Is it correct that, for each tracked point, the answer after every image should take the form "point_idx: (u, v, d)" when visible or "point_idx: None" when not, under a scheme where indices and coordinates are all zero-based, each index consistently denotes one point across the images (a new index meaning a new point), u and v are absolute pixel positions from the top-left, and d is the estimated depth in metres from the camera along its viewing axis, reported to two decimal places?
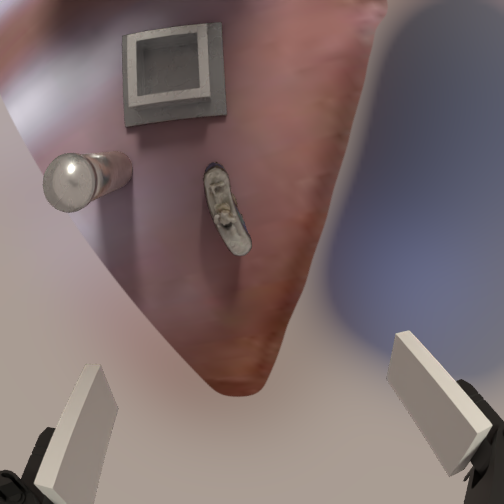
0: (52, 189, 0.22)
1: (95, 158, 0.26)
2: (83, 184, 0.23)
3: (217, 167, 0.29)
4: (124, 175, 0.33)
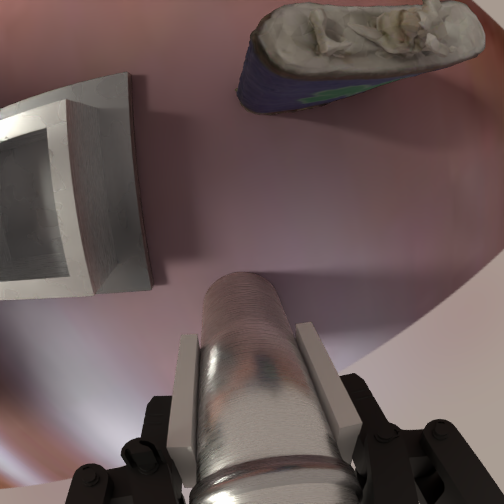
0: None
1: (209, 420, 0.09)
2: None
3: (258, 31, 0.07)
4: (257, 300, 0.15)
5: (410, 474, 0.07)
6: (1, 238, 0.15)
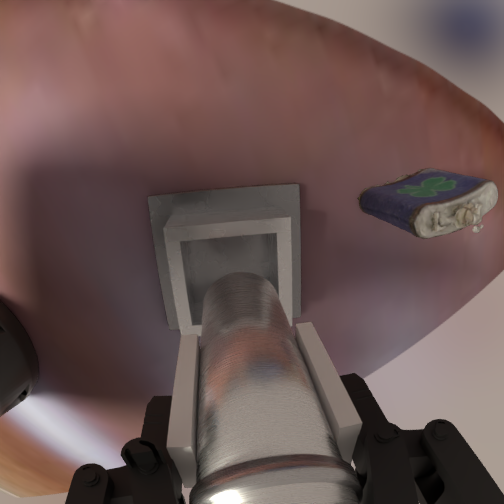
0: None
1: (209, 420, 0.09)
2: None
3: (414, 219, 0.19)
4: (257, 299, 0.15)
5: (410, 474, 0.07)
6: (192, 288, 0.26)
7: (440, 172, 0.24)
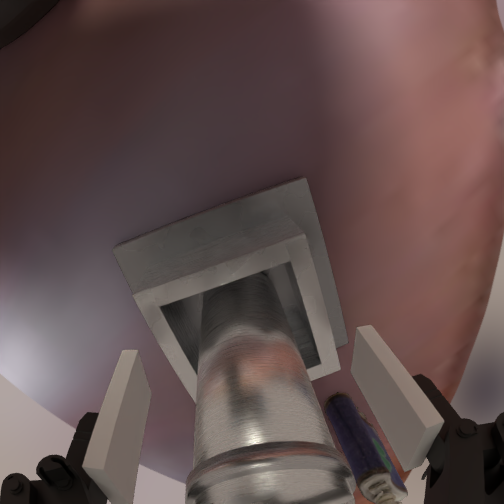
0: None
1: (206, 409, 0.09)
2: (287, 498, 0.06)
3: (376, 473, 0.16)
4: (255, 294, 0.16)
5: (481, 470, 0.06)
6: None
7: None
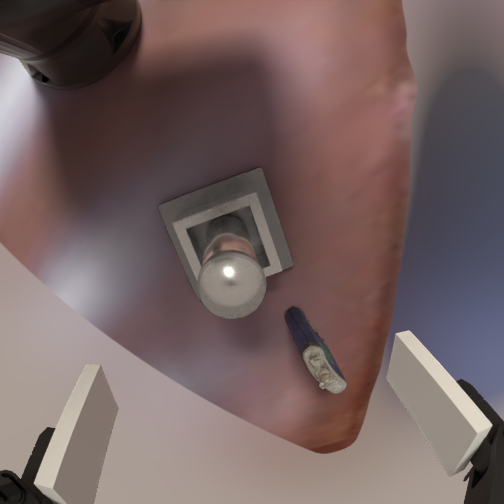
0: (237, 306, 0.23)
1: (207, 254, 0.25)
2: (234, 267, 0.22)
3: (312, 345, 0.32)
4: (233, 223, 0.32)
5: None
6: None
7: (330, 352, 0.40)
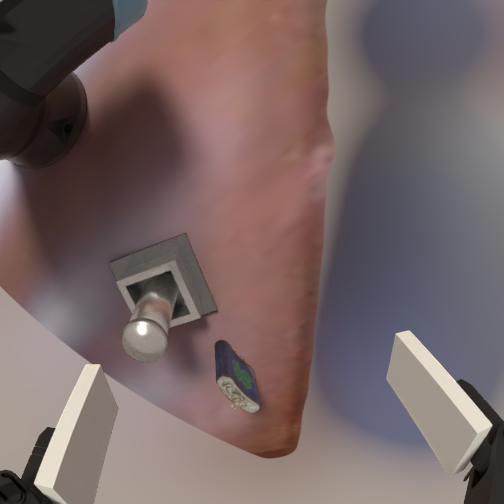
0: (148, 355, 0.31)
1: (132, 315, 0.34)
2: (142, 331, 0.30)
3: (223, 375, 0.41)
4: (160, 283, 0.40)
5: None
6: None
7: (253, 378, 0.48)
